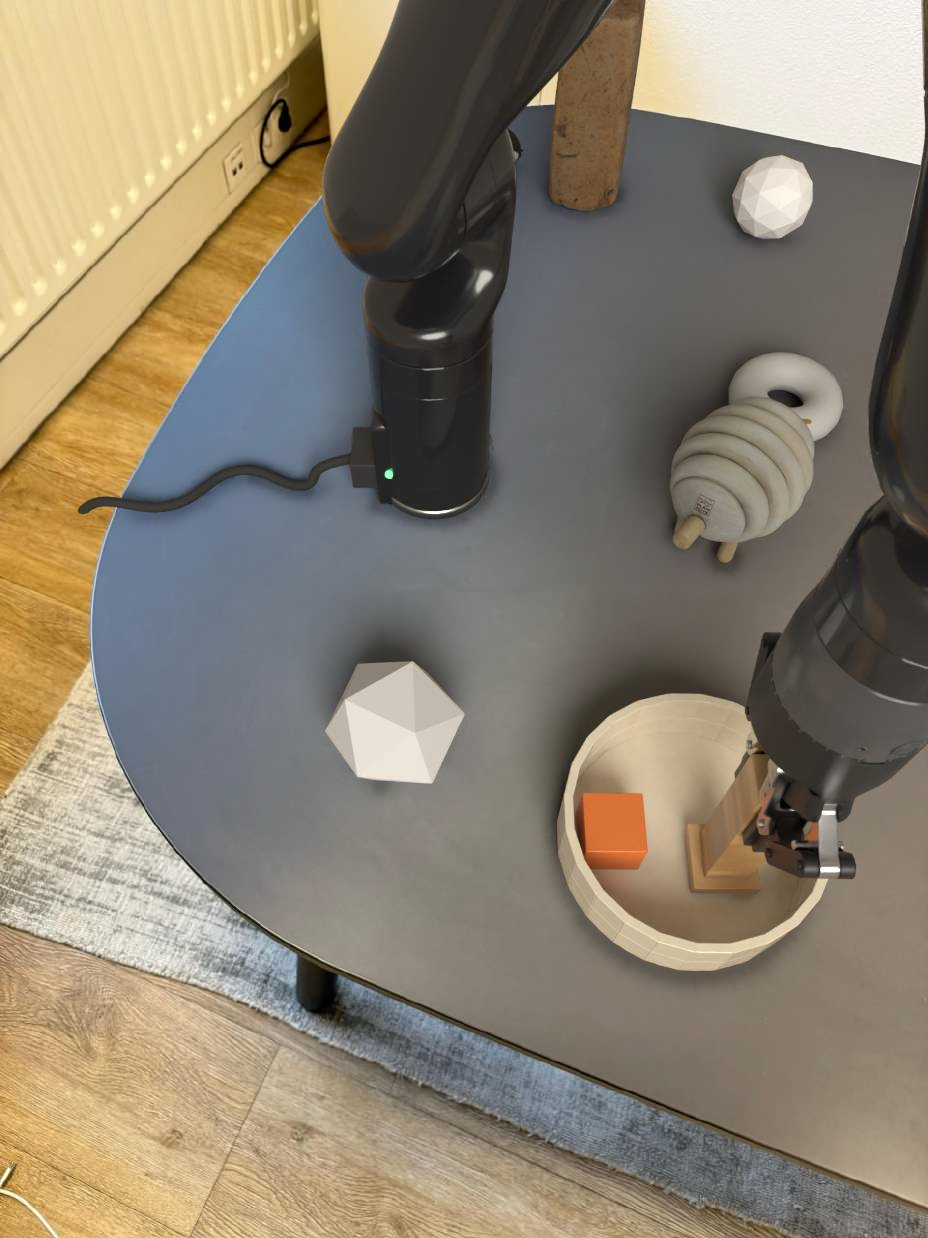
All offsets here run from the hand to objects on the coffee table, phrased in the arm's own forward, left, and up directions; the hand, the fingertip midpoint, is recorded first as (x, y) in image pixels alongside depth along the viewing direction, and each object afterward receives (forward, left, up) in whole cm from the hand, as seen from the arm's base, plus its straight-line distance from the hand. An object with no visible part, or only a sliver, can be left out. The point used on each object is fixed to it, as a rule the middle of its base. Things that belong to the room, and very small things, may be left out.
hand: (756, 810), depth 57 cm
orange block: (-7, +1, -11) cm, 13 cm away
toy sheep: (+4, +30, -12) cm, 32 cm away
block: (-5, +74, -12) cm, 75 cm away
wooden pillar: (0, 0, -10) cm, 10 cm away
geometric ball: (+13, +67, -12) cm, 69 cm away
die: (-22, +9, -12) cm, 26 cm away
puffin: (-19, +72, -8) cm, 75 cm away
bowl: (-2, +2, -11) cm, 12 cm away
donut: (+11, +42, -12) cm, 45 cm away
